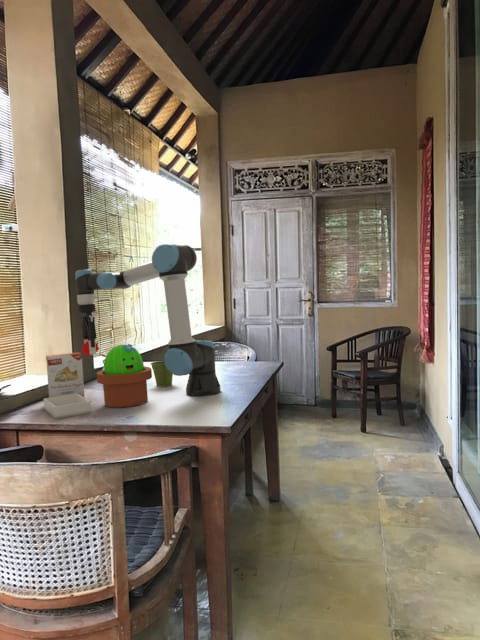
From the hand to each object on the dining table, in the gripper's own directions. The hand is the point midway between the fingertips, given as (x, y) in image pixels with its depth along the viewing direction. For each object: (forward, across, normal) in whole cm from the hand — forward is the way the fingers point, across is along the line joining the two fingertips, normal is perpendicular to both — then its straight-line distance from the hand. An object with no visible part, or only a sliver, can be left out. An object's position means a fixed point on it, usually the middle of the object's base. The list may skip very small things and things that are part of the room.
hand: (90, 353), depth 230 cm
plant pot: (+19, -8, -32) cm, 38 cm away
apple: (+1, 0, 0) cm, 1 cm away
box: (+19, -26, +18) cm, 37 cm away
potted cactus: (+19, -30, -5) cm, 36 cm away
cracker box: (+19, -10, +14) cm, 26 cm away
